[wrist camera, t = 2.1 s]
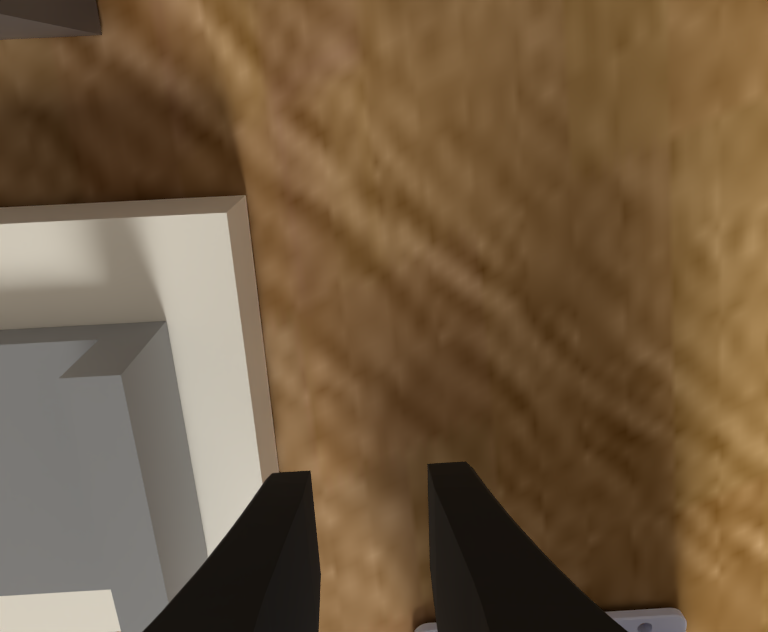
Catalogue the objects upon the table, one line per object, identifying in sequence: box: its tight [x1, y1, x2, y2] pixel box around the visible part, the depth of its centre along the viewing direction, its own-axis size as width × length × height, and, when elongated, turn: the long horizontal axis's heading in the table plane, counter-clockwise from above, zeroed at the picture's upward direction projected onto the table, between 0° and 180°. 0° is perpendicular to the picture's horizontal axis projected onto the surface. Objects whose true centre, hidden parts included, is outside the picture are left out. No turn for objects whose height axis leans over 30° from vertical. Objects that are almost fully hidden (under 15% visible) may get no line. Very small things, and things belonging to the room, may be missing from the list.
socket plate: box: [0, 195, 279, 632], centre depth 17 cm, size 11×12×2 cm
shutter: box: [0, 321, 208, 632], centre depth 15 cm, size 6×7×3 cm
